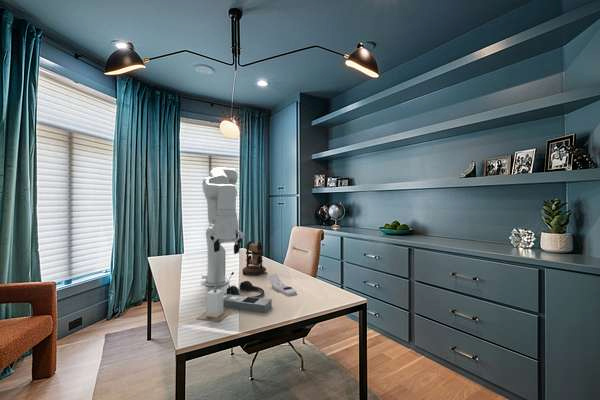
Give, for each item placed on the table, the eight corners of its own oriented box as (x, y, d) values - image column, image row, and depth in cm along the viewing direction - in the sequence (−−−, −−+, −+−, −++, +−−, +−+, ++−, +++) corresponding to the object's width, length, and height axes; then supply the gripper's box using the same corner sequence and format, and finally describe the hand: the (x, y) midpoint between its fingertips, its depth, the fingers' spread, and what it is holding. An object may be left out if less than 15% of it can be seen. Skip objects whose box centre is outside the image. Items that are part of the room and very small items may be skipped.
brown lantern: (269, 271, 175) (269, 240, 175) (259, 277, 161) (259, 243, 161) (249, 269, 179) (249, 239, 179) (237, 275, 165) (238, 242, 165)
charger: (206, 316, 104) (206, 288, 104) (213, 311, 109) (213, 285, 109) (216, 317, 103) (217, 290, 103) (223, 312, 108) (223, 286, 108)
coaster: (196, 321, 102) (196, 318, 102) (211, 311, 112) (211, 308, 112) (219, 324, 100) (219, 321, 100) (232, 313, 109) (232, 310, 109)
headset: (239, 269, 140) (271, 279, 131) (238, 287, 141) (269, 298, 131) (220, 275, 128) (253, 287, 119) (218, 295, 129) (251, 308, 119)
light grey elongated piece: (275, 273, 149) (299, 285, 128) (276, 283, 149) (299, 297, 128) (266, 274, 146) (288, 287, 125) (266, 285, 146) (288, 300, 125)
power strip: (208, 307, 115) (208, 297, 115) (217, 301, 122) (218, 292, 122) (265, 315, 108) (265, 304, 108) (271, 308, 115) (271, 298, 115)
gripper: (204, 212, 115) (204, 252, 116) (240, 214, 110) (239, 256, 111) (214, 211, 123) (214, 249, 123) (248, 213, 118) (248, 252, 118)
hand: (226, 252), depth 117 cm, fingers open, 9 cm apart
